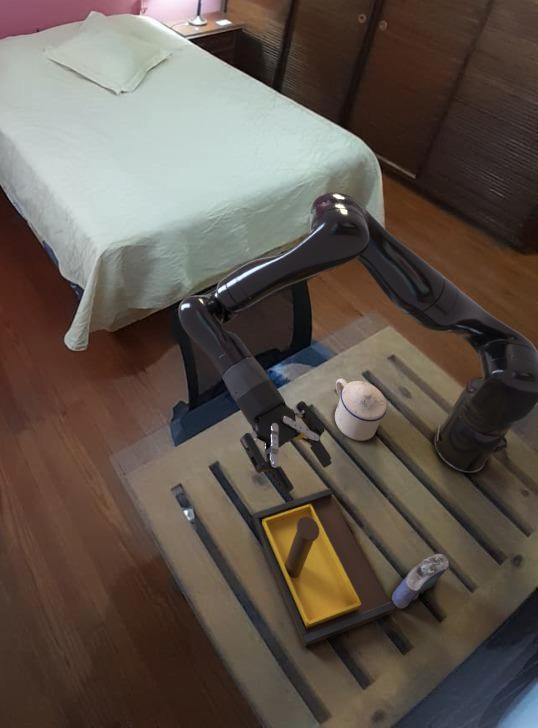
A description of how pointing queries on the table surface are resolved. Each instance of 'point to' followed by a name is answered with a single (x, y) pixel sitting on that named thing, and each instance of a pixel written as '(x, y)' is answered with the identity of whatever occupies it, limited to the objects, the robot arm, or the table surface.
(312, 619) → the tray
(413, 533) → the table surface
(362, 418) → the teacup with lid
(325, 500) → the track
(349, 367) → the table surface
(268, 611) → the table surface
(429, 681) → the table surface
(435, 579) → the flask
